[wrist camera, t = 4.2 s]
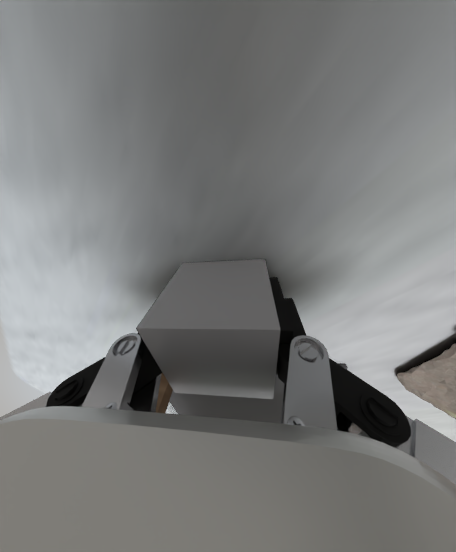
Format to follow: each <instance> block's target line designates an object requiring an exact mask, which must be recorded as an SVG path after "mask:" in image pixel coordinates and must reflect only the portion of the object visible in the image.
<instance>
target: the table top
mask: <svg viewBox="0 0 456 552" xmlns="http://www.w3.org/2000/svg"><path fill="white" fill-rule="evenodd" d="M339 365H340V366H342V367H343V368H345V369H346V370H347V366H346V364H339ZM283 390H284V383H283V382H282V381H281V380H280V379H279V378H278V374H276V377H275V386H274V396H273V399H262V398H247V397H232V396H217V395H202V394H187V393H175V392H174V391H172V394H171V397H170V400H169V401H170V403H171V404H172V406H173V407H174V409H175V410H176V412H177V413H178V414H179V415H190V416H202V417H213V418H224V419H236V420H247V421H258V422H269V423H280V420H281V410H282V400H283Z"/></svg>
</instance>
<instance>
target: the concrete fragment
mask: <svg viewBox="0 0 456 552" xmlns="http://www.w3.org/2000/svg"><path fill="white" fill-rule="evenodd" d="M397 377H398V380H399V381H400V382H401V383H402V384H403V386H404V387H405V388H406V390H408V391H410V392H412V393H414V394H415V395H417V396H418V397H420V398H421V399H423V400H425V401H427V402H429V403H431V404H432V405H433V406H434V407H436V408H438V409H440V410H442V411H444V412H446V413H447V414H448V415H450V416H451V417H453V418H455V419H456V343H455V344H453V345H452V346H451V348H450V349H448V350H445V351H444V352H443V353H442V354H441V355H439V356H438V357H436V358H434V359H432V360H430V361H428V362H424V363H422V364H421V365H419V366H417V367H414V368H411V369H410V370H409V371H407V372H404V373H398V374H397Z"/></svg>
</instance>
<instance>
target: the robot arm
mask: <svg viewBox="0 0 456 552" xmlns="http://www.w3.org/2000/svg"><path fill="white" fill-rule="evenodd" d="M269 280H270V284H271V289H272V293H273V298H274V302H275V307H276V312H277V316H278V321H279V325H280V339H279V349H278V358H277V367H276V374H278V378H279V379H280V380H281V381H282V382H283V383H284V390H283V400H282V410H281V420H280V423H269V422H258V421H247V420H236V419H224V418H213V417H202V416H190V415H178V414H166V413H155V412H156V406H157V400H158V393H159V387H160V380H161V373H163V372H162V371H161V369H160V367H159V366H158V364H157V362H156V361H155V359H154V357H153V356H152V354H151V352H150V351H149V349H148V347H147V346H146V344H145V342H144V341H143V339H142V337H141V336H140V334H139V333H138V334H137V333H130V334H127V335H124V336H122V337H120V338H119V339H118V340H116V341H115V342H114V343H113V344H112V346H111V348H110V349H109V351H108V353H107V355H106V357H104V358H103V359H101V360H99V361H97V362H96V363H94V364H92V365H90V366H89V367H87V368H85V369H83V370H82V371H80V372H78V373H76V374H75V375H73V376H71V377H69V378H68V379H66V380H65V381H63V382H62V383H61V384H60V385H59V386H58V387H57V388H56V389H55V390H54V391H53V392H52V393H51V392H49V393H47V394H45V395H43V396H41V397H39V398H38V399H36V400H33V401H31V402H29V403H27V404H26V405H24V406H22V407H20V408H18V409H16V410H14V411H12V412H10V413H8V414H6V415H4V416H2V417H0V552H456V442H454V441H453V440H451V439H449V438H448V437H446V436H444V435H443V434H441V433H439V432H438V431H436V430H434V429H433V428H431V427H429V426H428V425H426V424H424V423H423V422H421V421H419V420H418V419H415V420H412V419H410V418H409V417H407V416H405V414H404V413H403V411H402V410H401V409H400V408H399V407H398V406H397V405H396V403H395V402H393V401H392V400H391V399H390V398H388V397H387V396H386V395H384V394H383V393H381V392H380V391H378V390H377V389H375V388H373V387H372V386H370V385H369V384H367V383H366V382H364V381H363V380H361V379H360V378H358V377H357V376H355V375H354V374H352V373H351V372H349V371H348V370H346V369H345V368H343V367H342V366H340V365H339V364H337V363H336V362H334V361H333V360H331V359H330V358H329V356H328V352H327V349H326V348H325V346H324V345H323V344H322V343H321V342H320V341H319V340H317V339H315V338H313V337H310V336H306V333H305V331H304V328H303V325H302V322H301V320H300V317H299V314H298V312H297V309H296V306H295V304H294V301H293V299H292V298H283V294H282V291H281V288H280V284H279V281H278V278H277V277H273V278H269Z"/></svg>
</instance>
